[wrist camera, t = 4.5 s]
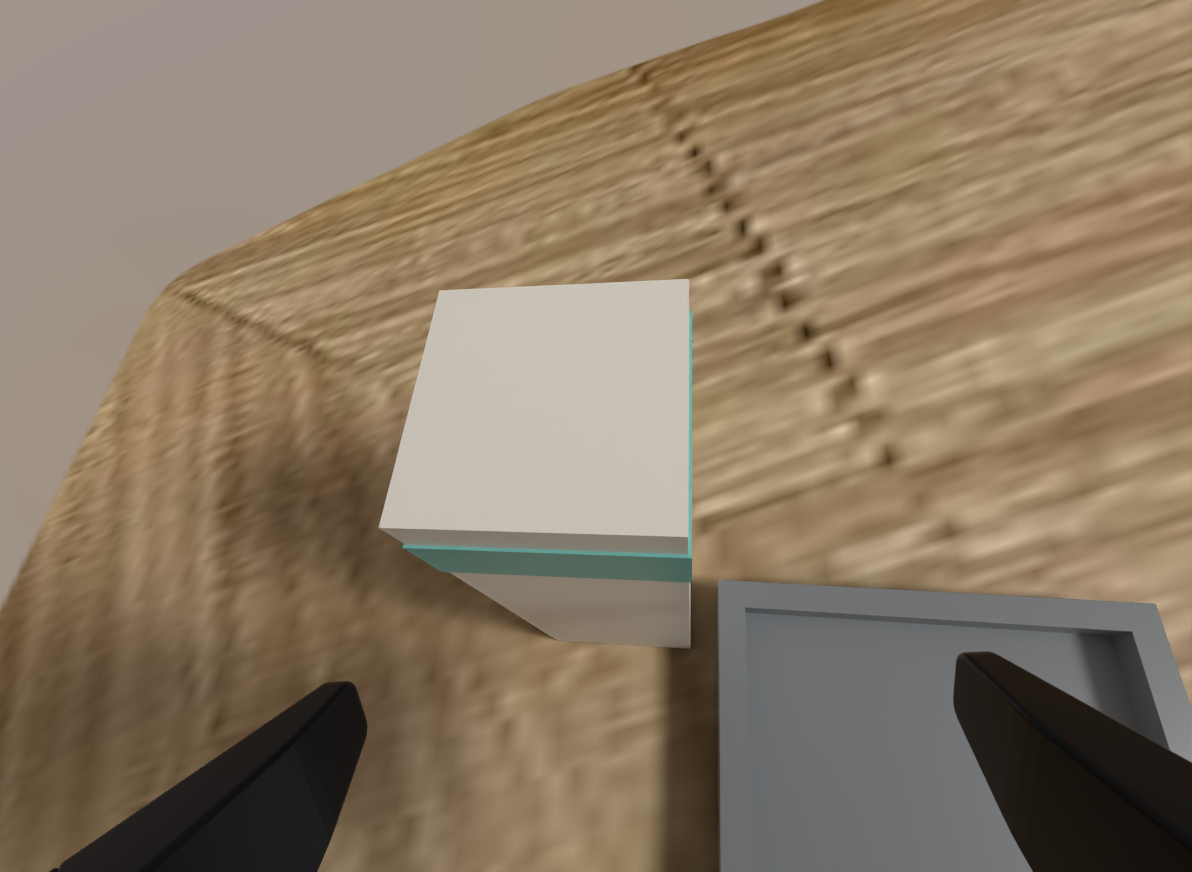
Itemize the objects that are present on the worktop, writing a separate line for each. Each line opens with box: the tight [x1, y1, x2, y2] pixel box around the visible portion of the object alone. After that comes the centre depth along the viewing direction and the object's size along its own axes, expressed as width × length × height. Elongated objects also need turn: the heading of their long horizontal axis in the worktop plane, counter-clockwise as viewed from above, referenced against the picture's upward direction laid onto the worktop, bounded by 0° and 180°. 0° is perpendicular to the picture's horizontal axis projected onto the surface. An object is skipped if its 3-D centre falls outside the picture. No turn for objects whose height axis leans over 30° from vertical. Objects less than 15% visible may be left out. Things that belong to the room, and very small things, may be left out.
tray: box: [717, 580, 1192, 872], centre depth 15 cm, size 12×12×2 cm
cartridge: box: [379, 279, 692, 649], centre depth 14 cm, size 5×5×12 cm
